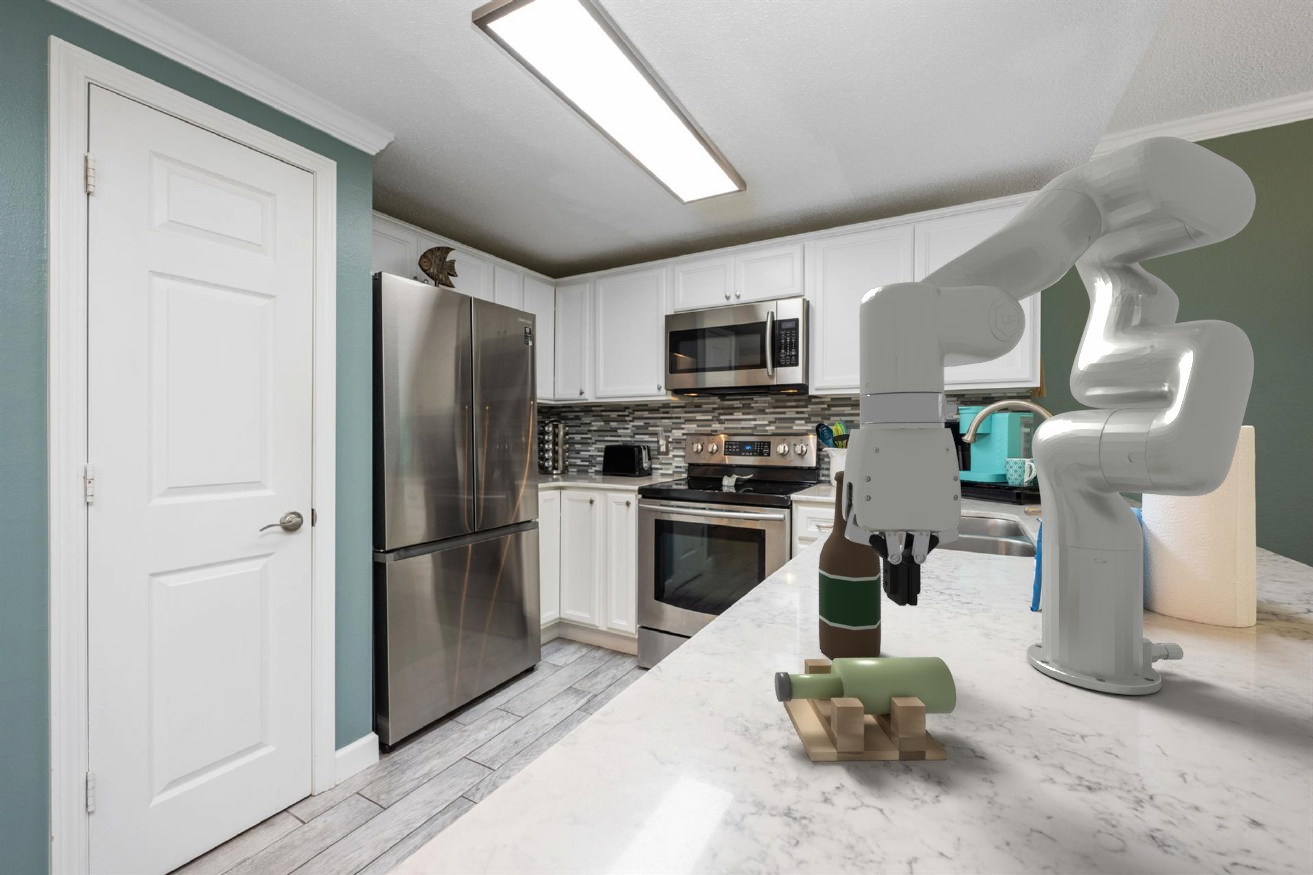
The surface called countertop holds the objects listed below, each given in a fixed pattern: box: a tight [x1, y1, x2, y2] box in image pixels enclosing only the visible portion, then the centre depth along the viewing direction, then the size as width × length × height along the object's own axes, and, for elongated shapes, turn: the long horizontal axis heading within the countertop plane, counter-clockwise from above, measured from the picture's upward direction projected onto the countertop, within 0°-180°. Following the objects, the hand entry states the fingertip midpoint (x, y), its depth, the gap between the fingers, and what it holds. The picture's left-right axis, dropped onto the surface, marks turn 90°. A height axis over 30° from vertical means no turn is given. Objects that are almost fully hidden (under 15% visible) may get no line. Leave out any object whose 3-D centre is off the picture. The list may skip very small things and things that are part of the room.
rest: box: [783, 658, 947, 762], centre depth 52 cm, size 12×10×5 cm
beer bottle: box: [818, 470, 882, 661], centre depth 70 cm, size 8×8×24 cm
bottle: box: [774, 656, 957, 715], centre depth 52 cm, size 5×5×16 cm
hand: (901, 601), depth 52 cm, fingers closed
